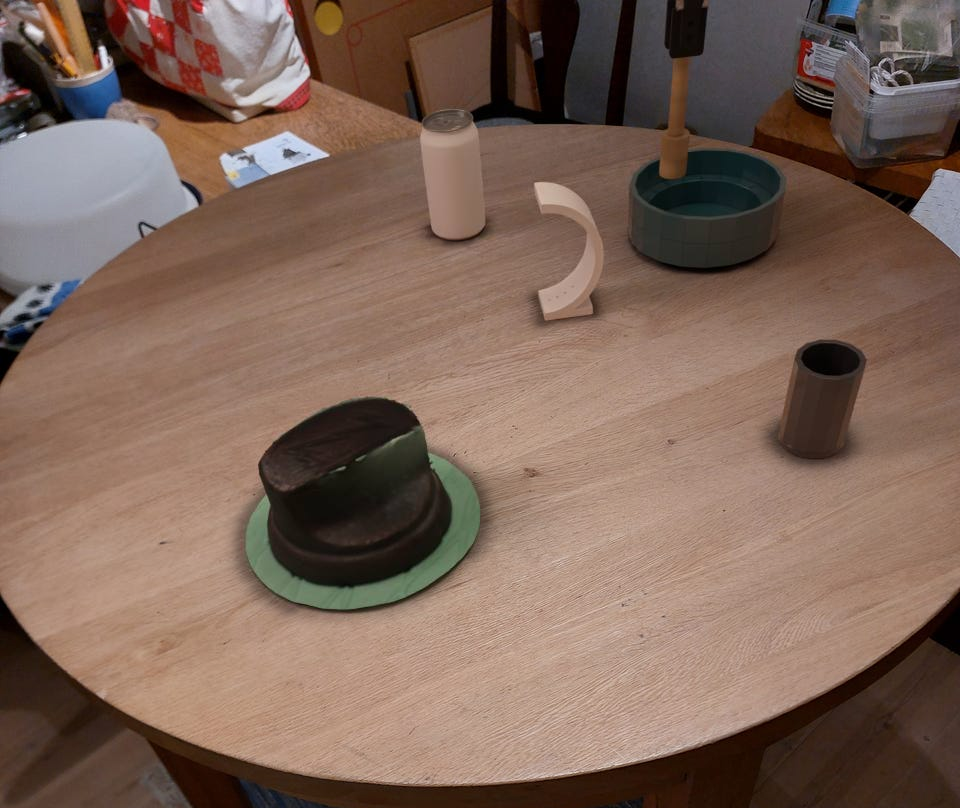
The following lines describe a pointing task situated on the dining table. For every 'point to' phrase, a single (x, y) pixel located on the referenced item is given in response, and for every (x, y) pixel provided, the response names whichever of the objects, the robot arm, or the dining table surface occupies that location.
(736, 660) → the dining table surface
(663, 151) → the stick
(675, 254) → the bowl
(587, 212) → the headphone stand
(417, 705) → the dining table surface
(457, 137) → the can
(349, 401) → the dark brown green hat
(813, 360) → the utensil pot
